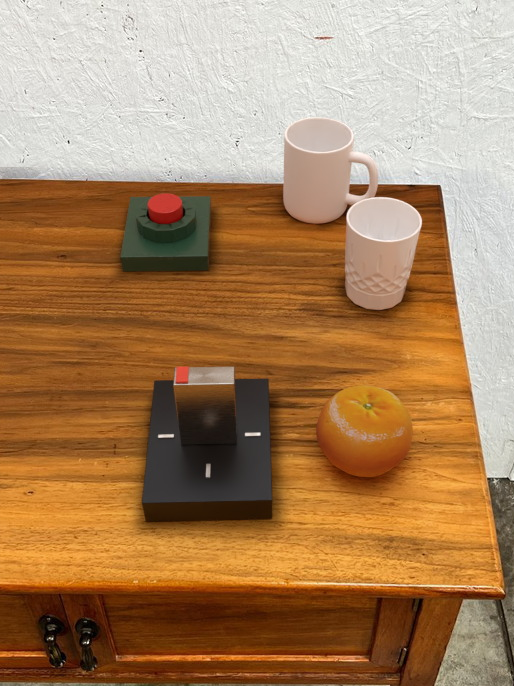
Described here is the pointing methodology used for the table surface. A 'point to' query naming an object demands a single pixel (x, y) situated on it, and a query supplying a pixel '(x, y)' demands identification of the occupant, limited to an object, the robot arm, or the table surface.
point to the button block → (167, 238)
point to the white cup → (380, 251)
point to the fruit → (364, 430)
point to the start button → (165, 208)
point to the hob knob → (206, 404)
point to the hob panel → (209, 463)
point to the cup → (321, 169)
